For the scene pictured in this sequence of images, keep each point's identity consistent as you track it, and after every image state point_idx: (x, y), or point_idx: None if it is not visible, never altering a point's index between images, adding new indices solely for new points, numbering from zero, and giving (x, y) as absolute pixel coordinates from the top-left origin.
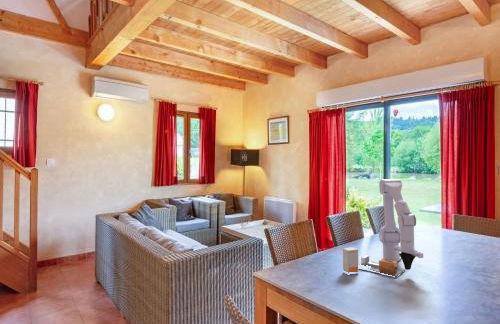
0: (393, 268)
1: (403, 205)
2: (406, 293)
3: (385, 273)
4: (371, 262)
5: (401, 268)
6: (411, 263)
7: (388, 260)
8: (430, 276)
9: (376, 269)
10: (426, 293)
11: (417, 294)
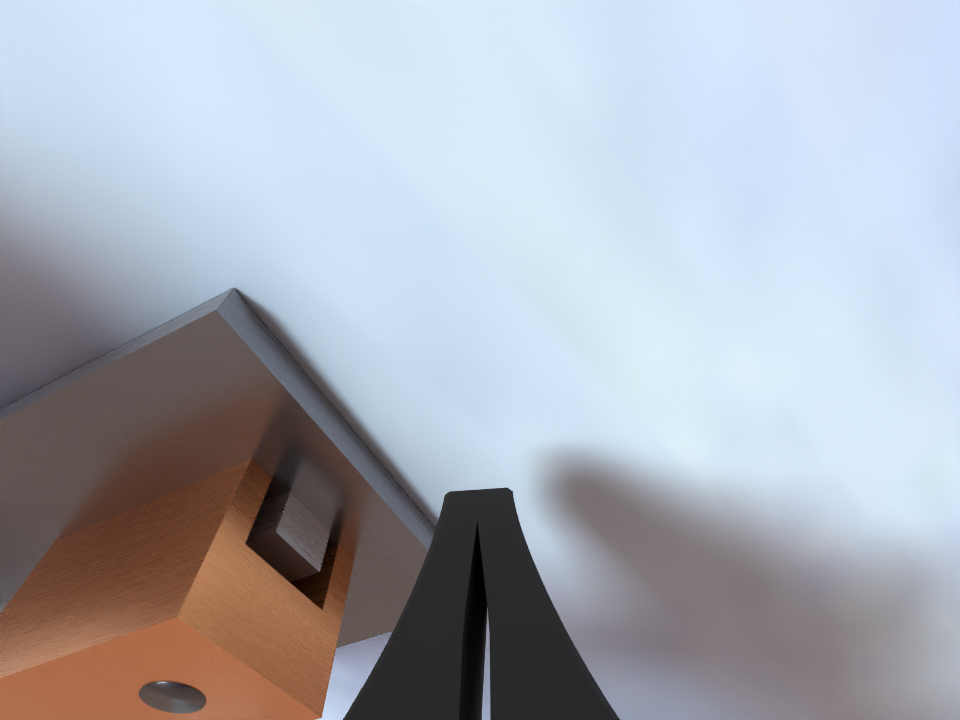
0: (333, 626)
1: None
2: (801, 692)
3: (349, 642)
4: None
5: (175, 348)
6: (546, 609)
7: (99, 694)
8: (710, 3)
9: None
10: (955, 587)
11: (888, 650)
